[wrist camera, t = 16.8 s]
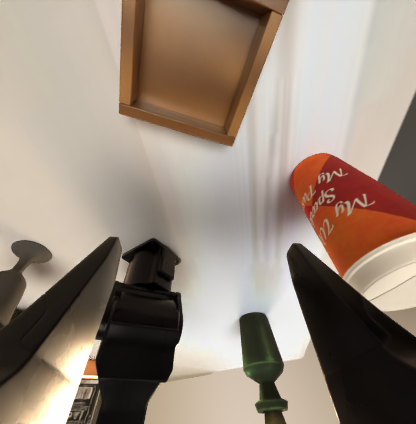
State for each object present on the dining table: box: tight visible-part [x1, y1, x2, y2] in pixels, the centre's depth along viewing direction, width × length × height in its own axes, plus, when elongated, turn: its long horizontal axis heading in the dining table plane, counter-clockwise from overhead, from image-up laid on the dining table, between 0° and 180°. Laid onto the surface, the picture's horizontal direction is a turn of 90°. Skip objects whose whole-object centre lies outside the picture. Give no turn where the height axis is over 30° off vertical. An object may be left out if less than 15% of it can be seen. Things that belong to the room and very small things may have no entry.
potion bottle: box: [240, 313, 288, 424], centre depth 40 cm, size 8×8×18 cm
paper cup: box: [290, 153, 416, 311], centre depth 18 cm, size 8×8×14 cm
